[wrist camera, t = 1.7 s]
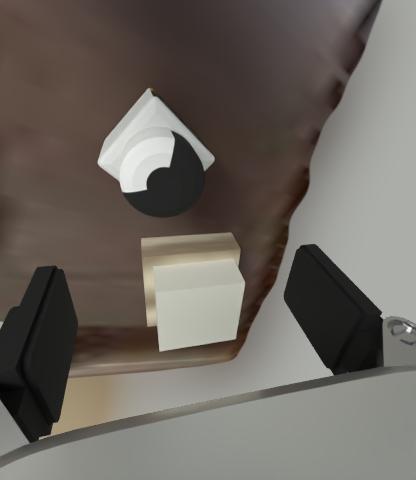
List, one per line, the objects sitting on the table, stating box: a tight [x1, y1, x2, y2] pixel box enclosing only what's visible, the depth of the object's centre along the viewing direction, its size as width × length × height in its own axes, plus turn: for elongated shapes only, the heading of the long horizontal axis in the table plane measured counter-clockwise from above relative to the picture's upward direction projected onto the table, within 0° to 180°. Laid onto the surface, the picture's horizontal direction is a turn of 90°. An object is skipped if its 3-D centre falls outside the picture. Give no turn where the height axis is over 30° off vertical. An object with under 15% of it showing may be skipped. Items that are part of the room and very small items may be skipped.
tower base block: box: [141, 232, 241, 327], centre depth 38 cm, size 12×12×4 cm
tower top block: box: [153, 259, 245, 351], centre depth 35 cm, size 10×10×4 cm
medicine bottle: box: [98, 88, 215, 218], centre depth 24 cm, size 7×7×12 cm
